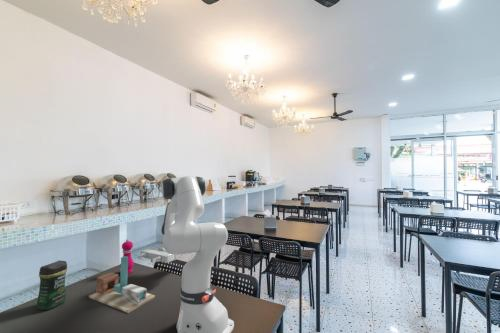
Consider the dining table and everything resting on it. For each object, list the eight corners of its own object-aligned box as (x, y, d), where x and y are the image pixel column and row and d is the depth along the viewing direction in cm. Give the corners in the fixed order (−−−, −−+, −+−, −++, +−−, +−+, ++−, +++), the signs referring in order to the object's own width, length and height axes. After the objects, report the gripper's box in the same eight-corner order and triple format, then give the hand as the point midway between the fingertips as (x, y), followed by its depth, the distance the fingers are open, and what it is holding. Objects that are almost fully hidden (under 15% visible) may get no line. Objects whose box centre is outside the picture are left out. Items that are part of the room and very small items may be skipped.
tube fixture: (154, 297, 110) (155, 280, 110) (128, 313, 97) (128, 293, 98) (116, 285, 122) (117, 269, 123) (88, 297, 110) (89, 280, 110)
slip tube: (143, 296, 106) (144, 260, 106) (138, 300, 103) (139, 262, 104) (119, 288, 113) (120, 254, 114) (113, 291, 110) (114, 256, 111)
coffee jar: (47, 312, 98) (49, 267, 98) (32, 310, 99) (34, 266, 100) (69, 300, 107) (71, 259, 108) (55, 298, 109) (57, 258, 109)
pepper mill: (135, 270, 141) (136, 237, 142) (128, 275, 134) (129, 240, 135) (124, 269, 142) (125, 237, 143) (116, 274, 135) (118, 240, 136)
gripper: (152, 243, 138) (132, 250, 126) (179, 248, 129) (159, 256, 117) (152, 254, 138) (131, 262, 125) (178, 260, 129) (159, 269, 116)
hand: (145, 259), depth 121 cm, fingers open, 8 cm apart
